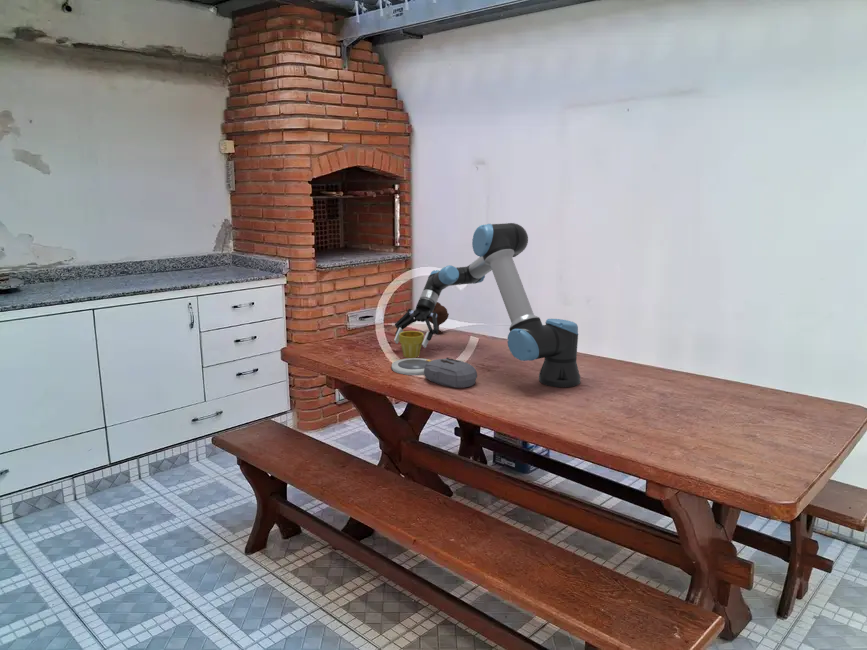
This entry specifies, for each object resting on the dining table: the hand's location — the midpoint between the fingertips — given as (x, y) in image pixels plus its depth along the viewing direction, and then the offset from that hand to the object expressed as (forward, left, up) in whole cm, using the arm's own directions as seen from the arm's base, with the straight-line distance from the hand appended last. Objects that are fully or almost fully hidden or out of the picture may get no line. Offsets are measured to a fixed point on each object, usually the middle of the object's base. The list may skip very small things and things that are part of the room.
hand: (409, 344), depth 273 cm
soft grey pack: (-36, +9, -6) cm, 37 cm away
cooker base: (-14, +9, -5) cm, 17 cm away
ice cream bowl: (+23, -36, -6) cm, 43 cm away
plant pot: (0, -1, -6) cm, 6 cm away
